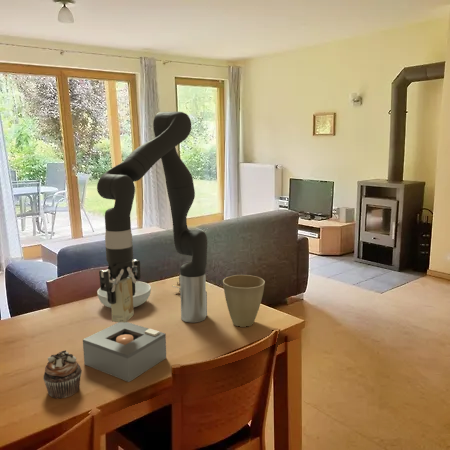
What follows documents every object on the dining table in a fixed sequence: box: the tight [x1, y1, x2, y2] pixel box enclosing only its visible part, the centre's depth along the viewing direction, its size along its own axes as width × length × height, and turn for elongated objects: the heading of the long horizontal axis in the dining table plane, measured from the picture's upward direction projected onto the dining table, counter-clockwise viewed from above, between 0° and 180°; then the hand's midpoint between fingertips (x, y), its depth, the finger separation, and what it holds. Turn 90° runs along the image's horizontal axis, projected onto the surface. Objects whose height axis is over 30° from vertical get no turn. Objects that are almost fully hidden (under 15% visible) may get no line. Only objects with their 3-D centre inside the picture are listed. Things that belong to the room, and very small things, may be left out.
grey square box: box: [82, 321, 167, 383], centre depth 133 cm, size 16×18×9 cm
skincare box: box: [110, 277, 135, 323], centre depth 130 cm, size 6×4×12 cm
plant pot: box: [222, 274, 266, 328], centre depth 160 cm, size 15×15×16 cm
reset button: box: [116, 334, 133, 345], centre depth 133 cm, size 5×5×4 cm
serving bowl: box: [96, 280, 152, 309], centre depth 178 cm, size 21×21×7 cm
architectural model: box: [171, 275, 181, 292], centre depth 191 cm, size 3×7×7 cm, turn 53°
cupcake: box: [42, 350, 83, 399], centre depth 118 cm, size 10×10×10 cm
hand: (122, 299), depth 130 cm, fingers closed on skincare box, 7 cm apart
